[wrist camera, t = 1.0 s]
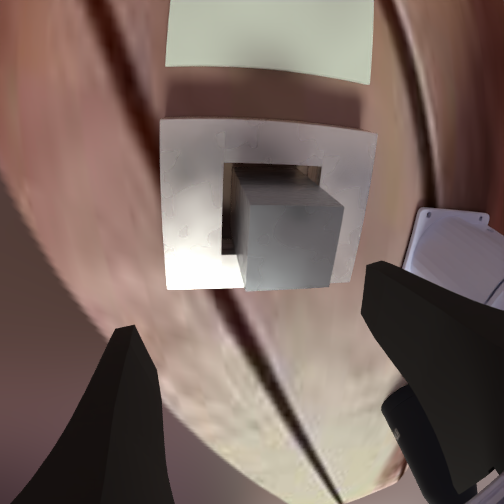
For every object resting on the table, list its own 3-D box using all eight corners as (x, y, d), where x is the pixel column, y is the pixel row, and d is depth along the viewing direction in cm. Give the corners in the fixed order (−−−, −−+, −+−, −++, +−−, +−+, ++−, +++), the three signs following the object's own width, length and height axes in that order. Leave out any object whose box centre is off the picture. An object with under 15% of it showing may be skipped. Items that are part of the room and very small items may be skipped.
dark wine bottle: (427, 389, 36) (516, 552, 9) (390, 416, 37) (468, 581, 11) (414, 376, 33) (516, 565, 7) (373, 406, 34) (459, 596, 8)
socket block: (360, 128, 18) (377, 133, 16) (337, 265, 23) (349, 282, 21) (164, 117, 16) (159, 119, 14) (169, 270, 21) (167, 289, 19)
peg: (297, 168, 19) (344, 206, 13) (290, 228, 21) (329, 287, 15) (232, 166, 18) (250, 205, 12) (229, 228, 20) (245, 291, 14)
